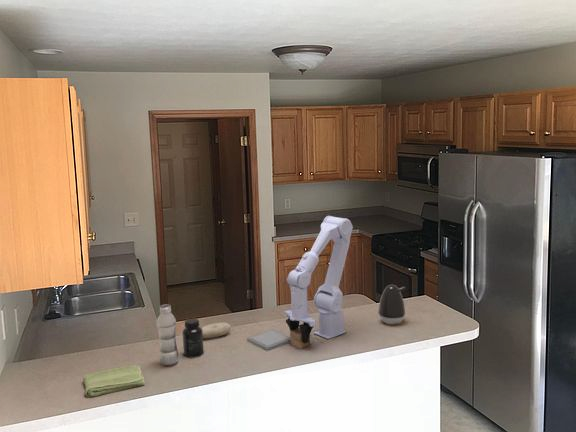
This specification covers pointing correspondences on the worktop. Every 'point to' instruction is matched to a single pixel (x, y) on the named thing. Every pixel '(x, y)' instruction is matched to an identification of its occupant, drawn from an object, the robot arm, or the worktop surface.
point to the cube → (298, 338)
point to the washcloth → (113, 380)
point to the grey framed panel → (269, 339)
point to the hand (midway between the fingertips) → (300, 340)
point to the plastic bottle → (167, 336)
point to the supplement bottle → (192, 338)
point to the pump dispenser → (392, 305)
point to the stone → (215, 330)
